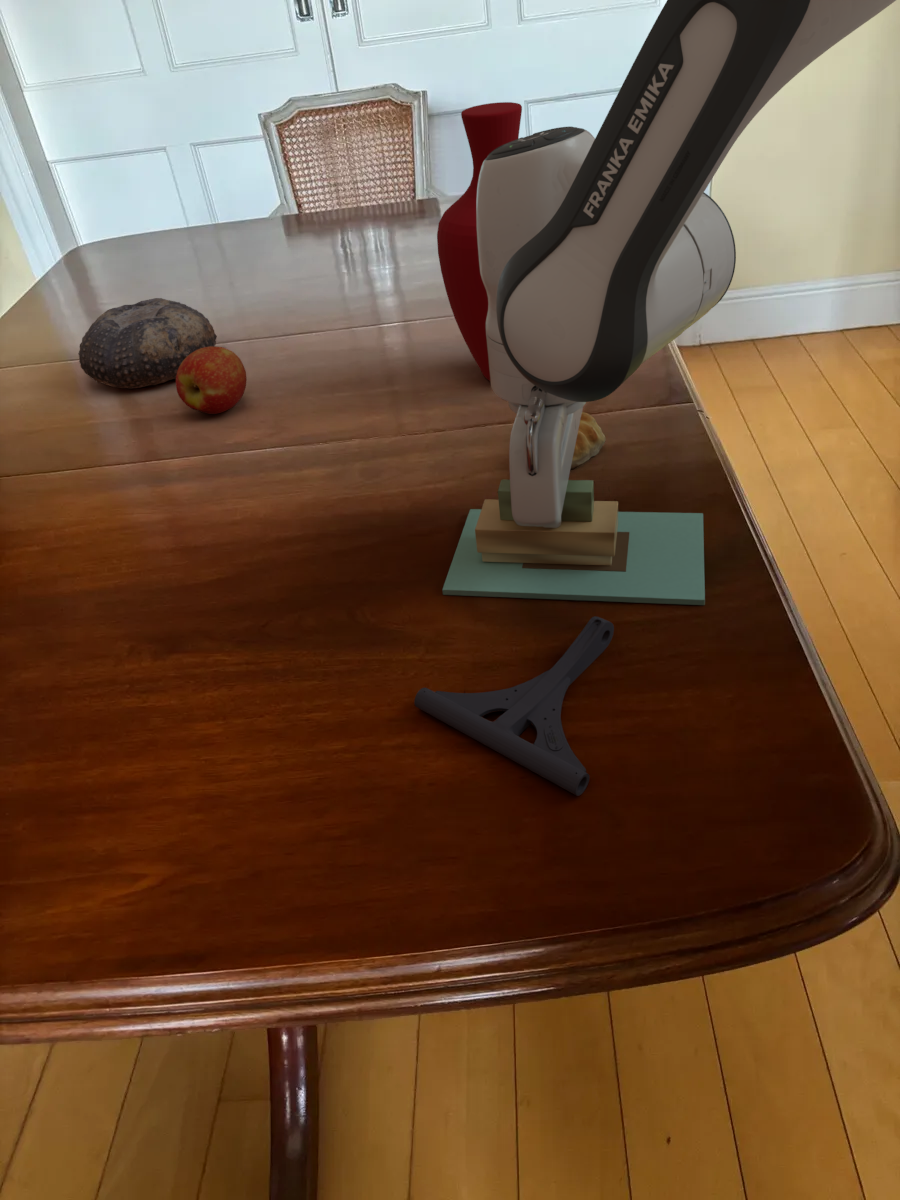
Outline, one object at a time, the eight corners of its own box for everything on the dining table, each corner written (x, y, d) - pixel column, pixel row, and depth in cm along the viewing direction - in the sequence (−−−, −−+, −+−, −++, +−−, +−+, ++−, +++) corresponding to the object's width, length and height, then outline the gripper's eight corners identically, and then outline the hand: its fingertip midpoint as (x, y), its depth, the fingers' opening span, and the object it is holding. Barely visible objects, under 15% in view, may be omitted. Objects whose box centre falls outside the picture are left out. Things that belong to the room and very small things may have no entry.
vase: (432, 392, 111) (396, 124, 93) (483, 346, 121) (460, 95, 103) (542, 406, 105) (527, 121, 87) (586, 355, 115) (581, 90, 96)
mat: (702, 518, 83) (703, 512, 83) (704, 605, 73) (705, 599, 73) (470, 514, 88) (470, 508, 88) (442, 594, 78) (442, 588, 78)
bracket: (689, 673, 67) (690, 644, 65) (576, 800, 59) (574, 772, 57) (534, 609, 75) (532, 582, 74) (415, 713, 67) (410, 685, 65)
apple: (176, 420, 113) (156, 360, 108) (216, 391, 119) (199, 333, 114) (227, 426, 110) (209, 365, 105) (265, 397, 116) (250, 337, 111)
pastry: (561, 487, 90) (560, 453, 88) (507, 471, 94) (504, 439, 91) (610, 446, 95) (609, 413, 93) (556, 433, 99) (555, 401, 97)
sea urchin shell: (144, 404, 117) (109, 329, 111) (73, 401, 128) (39, 334, 123) (249, 347, 127) (221, 277, 122) (174, 350, 139) (146, 286, 134)
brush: (618, 535, 81) (618, 471, 77) (614, 568, 77) (614, 502, 73) (487, 532, 84) (481, 470, 80) (478, 563, 80) (471, 499, 76)
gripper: (573, 423, 61) (579, 585, 69) (596, 312, 77) (599, 455, 85) (482, 424, 62) (498, 582, 71) (523, 315, 78) (533, 455, 86)
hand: (553, 512), depth 78 cm, fingers closed on brush
